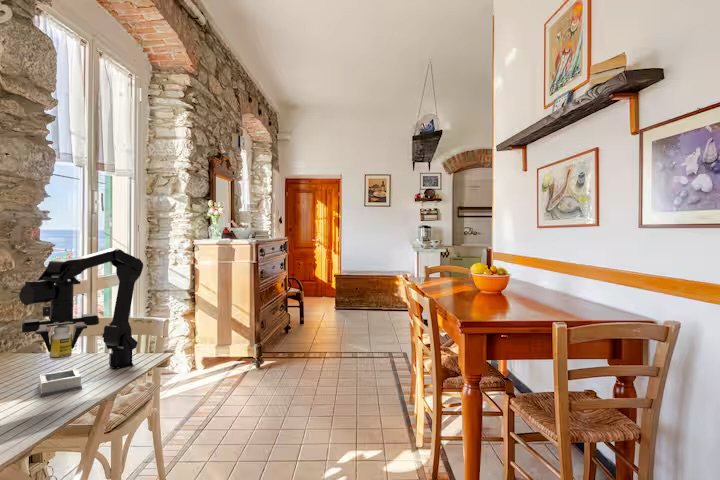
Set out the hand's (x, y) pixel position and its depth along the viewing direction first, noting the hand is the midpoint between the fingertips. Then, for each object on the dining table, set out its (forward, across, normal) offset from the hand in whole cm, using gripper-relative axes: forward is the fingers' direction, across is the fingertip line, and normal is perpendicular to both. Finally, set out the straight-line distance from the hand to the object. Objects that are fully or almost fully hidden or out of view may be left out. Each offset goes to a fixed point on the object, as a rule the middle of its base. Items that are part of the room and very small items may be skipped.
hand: (61, 350), depth 120 cm
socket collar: (+12, 0, 0) cm, 12 cm away
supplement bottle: (+3, 0, 0) cm, 3 cm away
